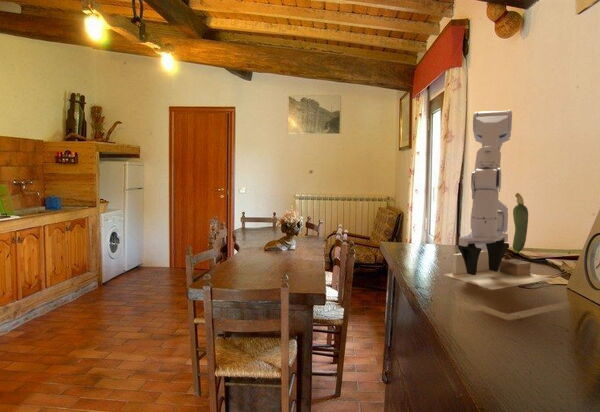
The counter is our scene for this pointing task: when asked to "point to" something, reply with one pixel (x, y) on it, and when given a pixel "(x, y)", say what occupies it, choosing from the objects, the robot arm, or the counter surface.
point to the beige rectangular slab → (460, 264)
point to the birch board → (497, 279)
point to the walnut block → (515, 267)
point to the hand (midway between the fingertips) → (482, 272)
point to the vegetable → (520, 224)
